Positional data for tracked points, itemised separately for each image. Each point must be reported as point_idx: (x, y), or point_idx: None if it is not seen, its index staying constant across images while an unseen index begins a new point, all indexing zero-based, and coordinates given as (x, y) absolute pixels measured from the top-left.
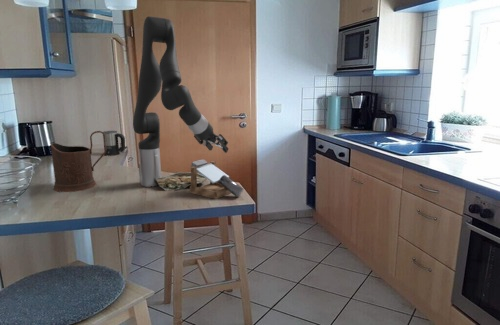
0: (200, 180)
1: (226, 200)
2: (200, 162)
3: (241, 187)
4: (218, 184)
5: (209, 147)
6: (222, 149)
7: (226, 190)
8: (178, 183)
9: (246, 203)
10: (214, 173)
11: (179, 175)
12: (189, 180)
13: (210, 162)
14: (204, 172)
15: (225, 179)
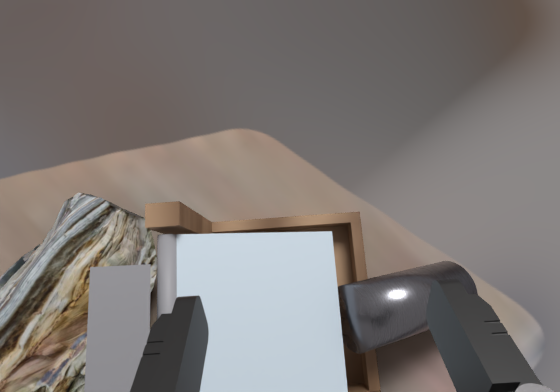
0: (118, 251)
1: (426, 369)
2: (123, 333)
3: (467, 281)
4: (239, 232)
5: (197, 369)
6: (461, 388)
7: None
8: (62, 386)
9: (531, 339)
10: (276, 312)
11: (4, 346)
12: (80, 310)
13: (148, 228)
14: (241, 386)
15: (397, 332)
